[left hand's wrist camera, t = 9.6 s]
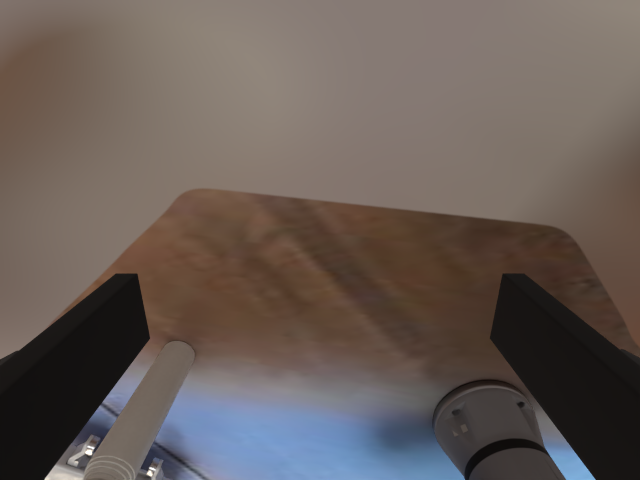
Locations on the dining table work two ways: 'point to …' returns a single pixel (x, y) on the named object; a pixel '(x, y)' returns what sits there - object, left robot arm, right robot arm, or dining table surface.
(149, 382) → the bottle
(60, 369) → the left robot arm
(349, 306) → the dining table surface
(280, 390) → the dining table surface
